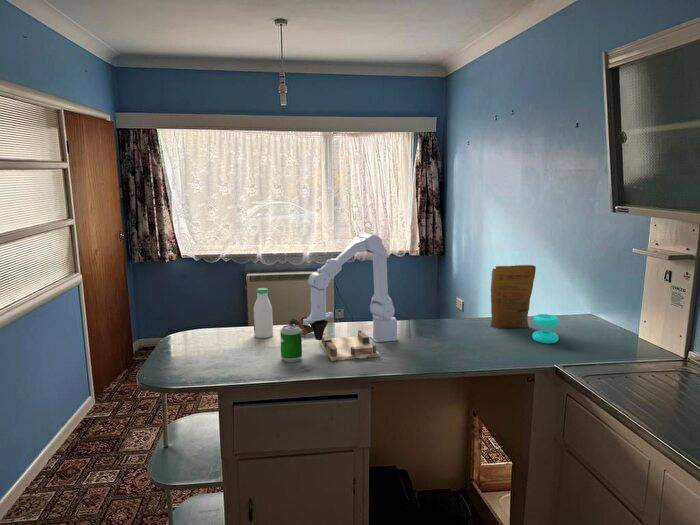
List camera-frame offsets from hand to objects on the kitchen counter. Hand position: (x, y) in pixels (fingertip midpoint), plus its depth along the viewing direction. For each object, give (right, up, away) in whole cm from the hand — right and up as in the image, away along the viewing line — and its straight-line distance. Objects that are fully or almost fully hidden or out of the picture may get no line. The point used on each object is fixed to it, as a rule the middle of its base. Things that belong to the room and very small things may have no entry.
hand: (318, 339), depth 187 cm
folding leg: (+3, -2, +4) cm, 6 cm away
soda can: (-9, -6, -9) cm, 14 cm away
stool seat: (+11, -4, +2) cm, 12 cm away
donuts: (+91, -3, +13) cm, 91 cm away
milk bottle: (-24, -2, +19) cm, 31 cm away
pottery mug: (-8, -1, +23) cm, 24 cm away
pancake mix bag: (+82, 0, +31) cm, 88 cm away
